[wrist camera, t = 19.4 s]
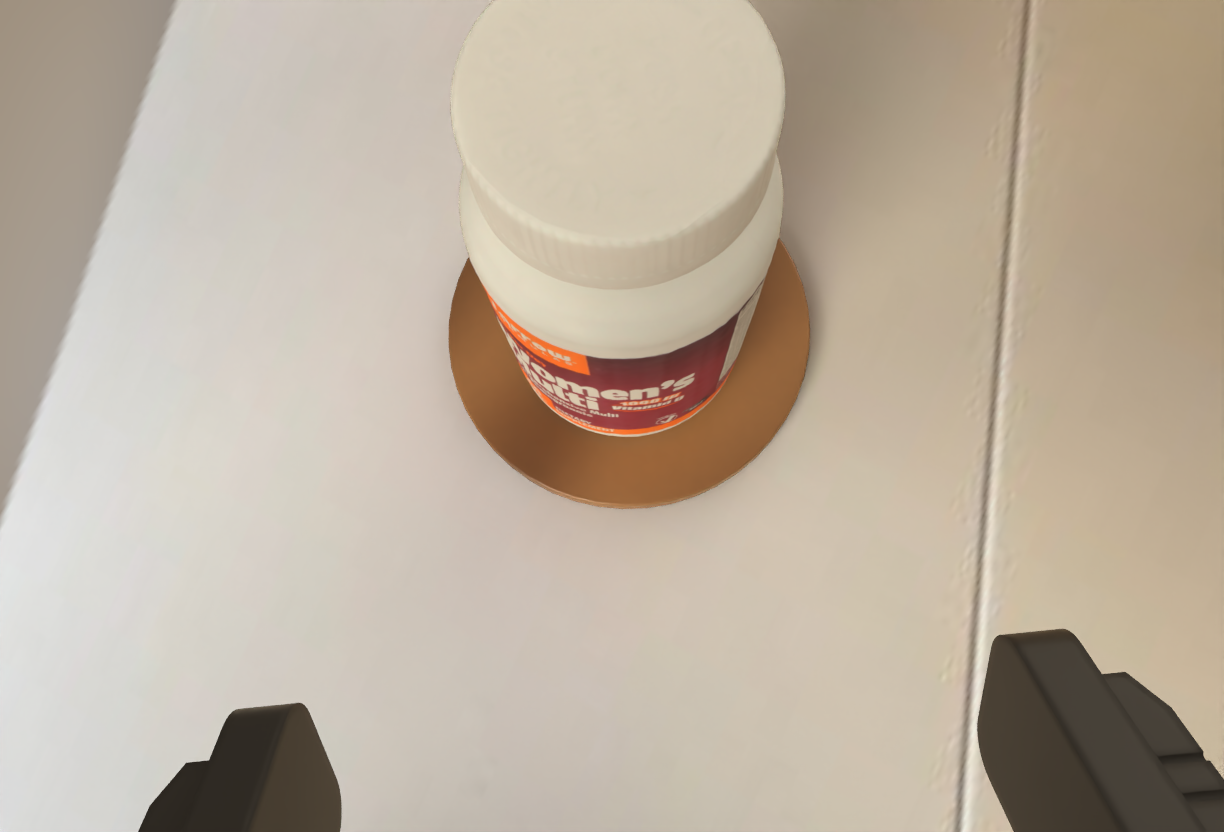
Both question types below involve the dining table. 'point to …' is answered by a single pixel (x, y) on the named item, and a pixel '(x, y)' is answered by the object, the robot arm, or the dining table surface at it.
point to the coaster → (643, 463)
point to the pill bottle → (621, 195)
